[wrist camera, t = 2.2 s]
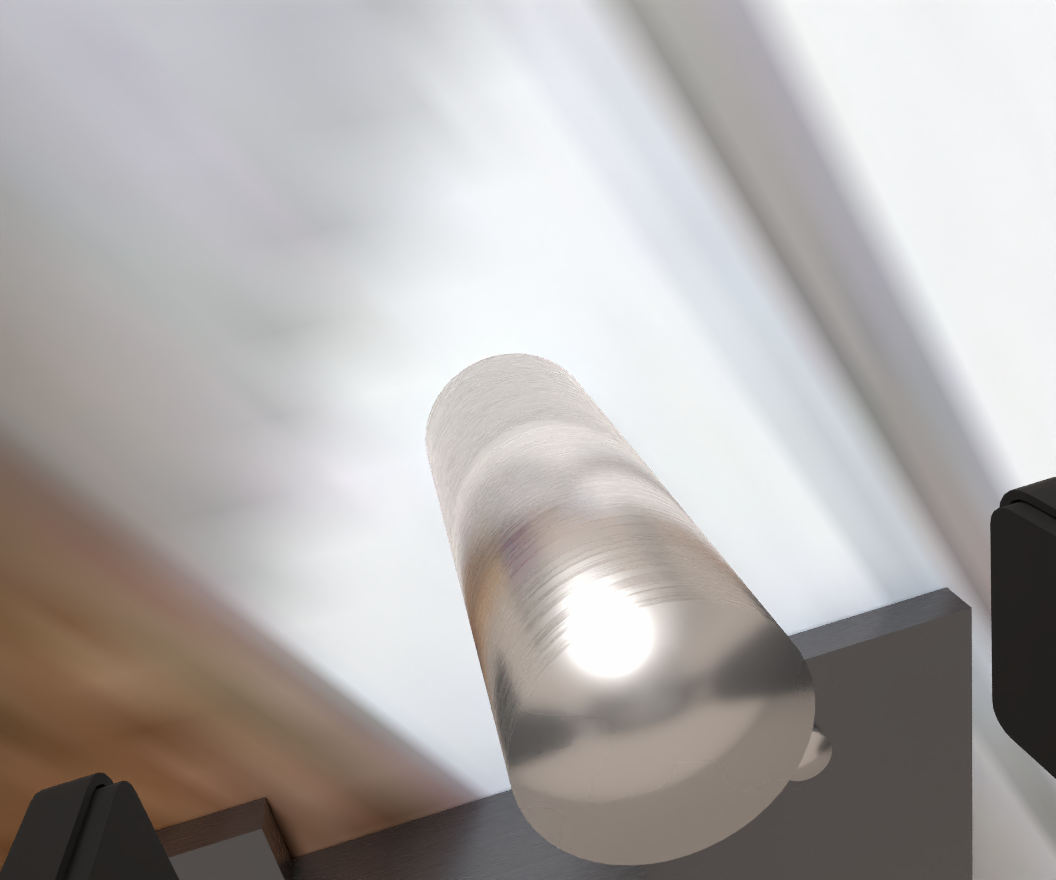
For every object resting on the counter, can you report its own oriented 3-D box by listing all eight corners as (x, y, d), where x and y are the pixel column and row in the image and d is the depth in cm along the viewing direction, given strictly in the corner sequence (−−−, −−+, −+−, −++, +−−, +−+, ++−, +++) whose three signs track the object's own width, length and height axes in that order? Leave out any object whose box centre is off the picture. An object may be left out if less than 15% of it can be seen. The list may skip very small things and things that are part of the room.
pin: (577, 334, 15) (802, 561, 8) (606, 488, 16) (825, 809, 9) (405, 379, 15) (475, 660, 8) (448, 532, 16) (544, 903, 9)
